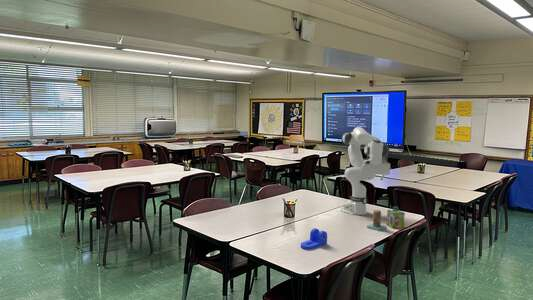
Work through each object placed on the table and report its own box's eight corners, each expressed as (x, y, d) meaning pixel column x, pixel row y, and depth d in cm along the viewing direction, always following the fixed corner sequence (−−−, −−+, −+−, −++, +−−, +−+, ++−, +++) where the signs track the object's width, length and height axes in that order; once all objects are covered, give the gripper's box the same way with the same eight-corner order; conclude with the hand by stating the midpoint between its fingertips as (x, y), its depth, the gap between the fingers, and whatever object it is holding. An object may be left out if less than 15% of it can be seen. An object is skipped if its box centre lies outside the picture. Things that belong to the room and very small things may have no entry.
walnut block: (373, 226, 256) (373, 211, 255) (372, 224, 260) (373, 210, 259) (380, 227, 254) (381, 212, 253) (379, 225, 259) (380, 210, 258)
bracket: (317, 240, 230) (317, 227, 229) (327, 244, 223) (327, 230, 222) (297, 247, 218) (298, 232, 217) (307, 250, 212) (308, 236, 211)
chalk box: (393, 228, 256) (394, 208, 255) (386, 225, 265) (386, 205, 264) (404, 227, 259) (405, 208, 257) (396, 224, 267) (397, 205, 266)
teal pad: (366, 227, 258) (366, 225, 257) (373, 225, 264) (373, 223, 264) (379, 230, 250) (379, 228, 250) (386, 228, 257) (386, 226, 257)
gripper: (390, 161, 263) (389, 179, 264) (361, 160, 268) (361, 178, 269) (390, 162, 257) (390, 181, 258) (361, 161, 262) (361, 179, 263)
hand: (375, 179), depth 264 cm, fingers open, 8 cm apart
